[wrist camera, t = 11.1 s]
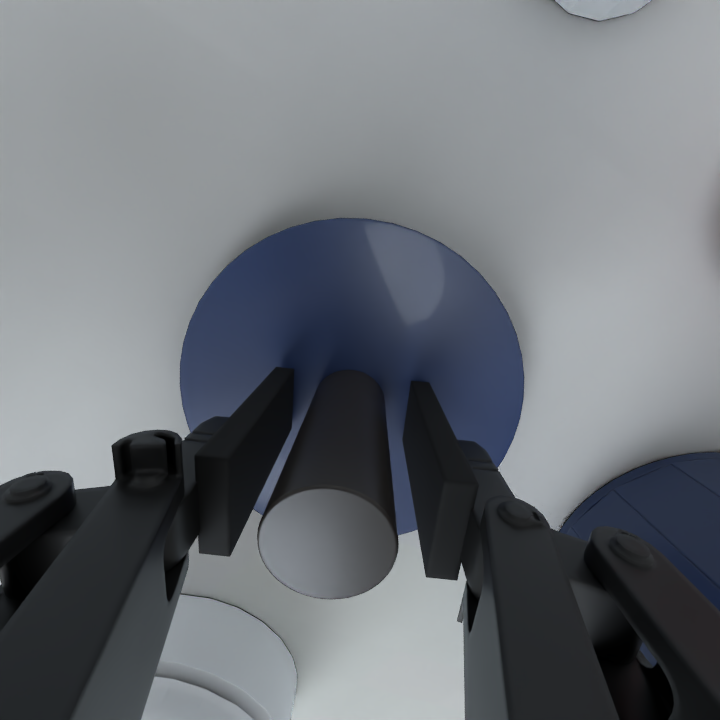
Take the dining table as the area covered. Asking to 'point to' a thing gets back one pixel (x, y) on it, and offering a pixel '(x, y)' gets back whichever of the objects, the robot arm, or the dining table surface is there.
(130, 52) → the dining table surface
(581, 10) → the white tapered cylinder
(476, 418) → the lid
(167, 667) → the honey pot
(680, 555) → the pot
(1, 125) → the dining table surface
